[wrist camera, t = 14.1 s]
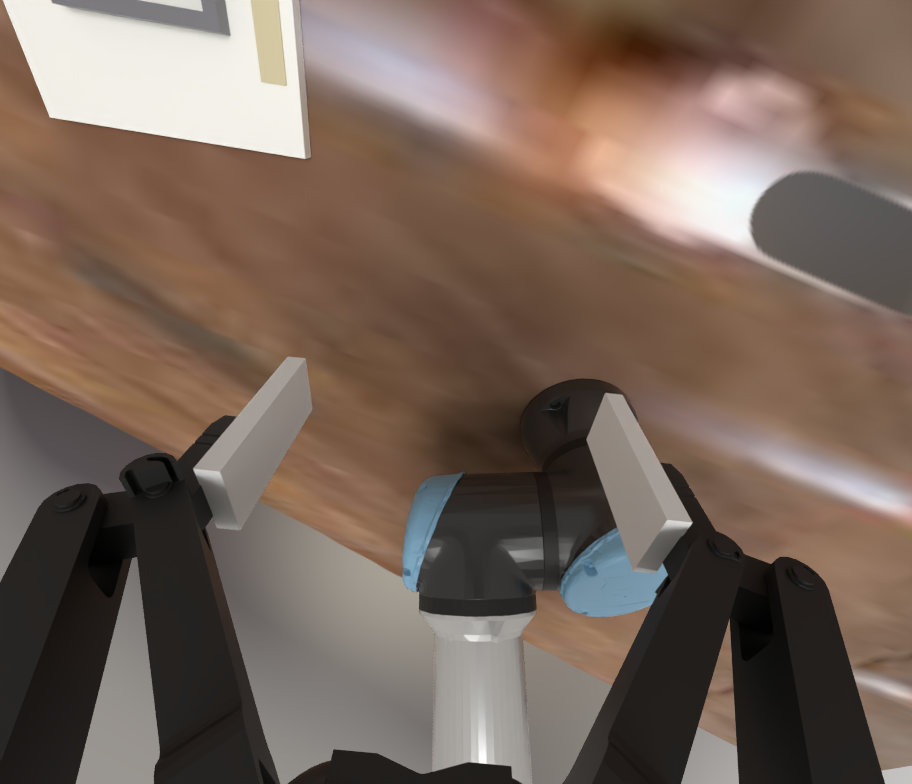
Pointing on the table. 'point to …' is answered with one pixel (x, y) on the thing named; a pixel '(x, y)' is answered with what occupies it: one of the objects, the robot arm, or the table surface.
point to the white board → (173, 68)
